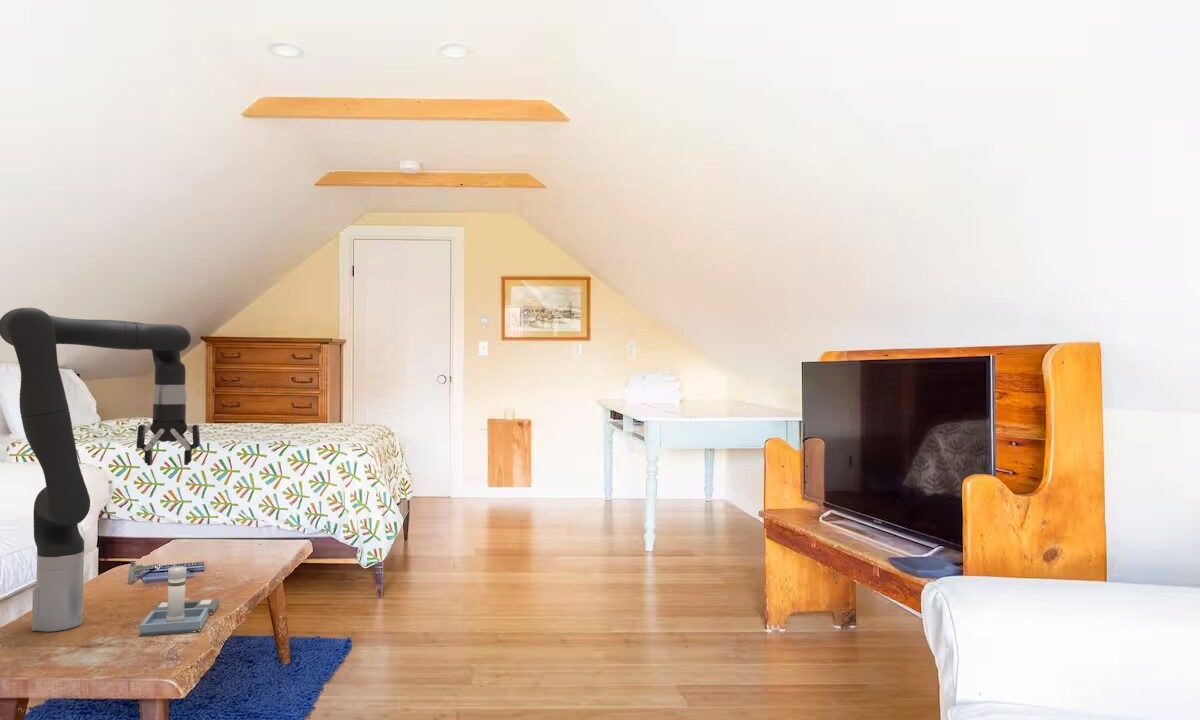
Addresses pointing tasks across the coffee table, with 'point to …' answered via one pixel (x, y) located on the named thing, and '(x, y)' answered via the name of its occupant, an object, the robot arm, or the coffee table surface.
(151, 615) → the parts tray
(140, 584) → the coffee table surface
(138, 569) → the caliper
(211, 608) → the block
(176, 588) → the fuse
